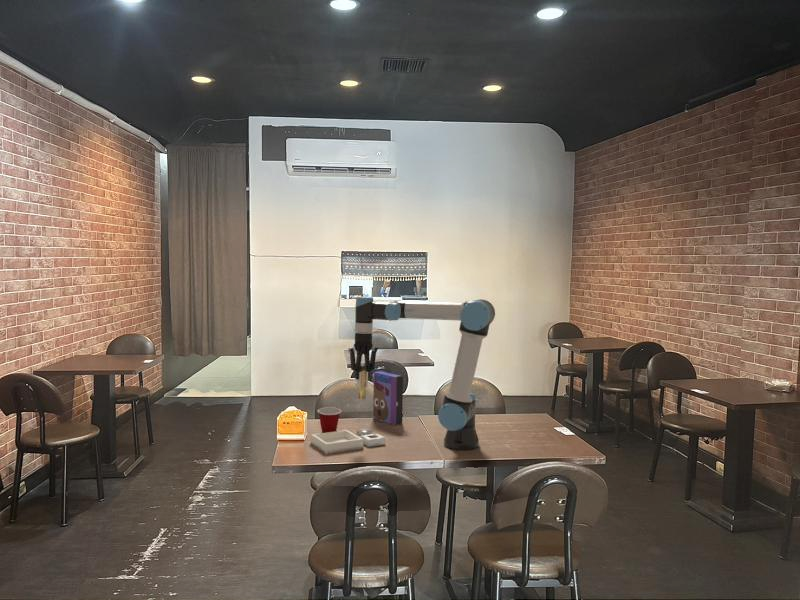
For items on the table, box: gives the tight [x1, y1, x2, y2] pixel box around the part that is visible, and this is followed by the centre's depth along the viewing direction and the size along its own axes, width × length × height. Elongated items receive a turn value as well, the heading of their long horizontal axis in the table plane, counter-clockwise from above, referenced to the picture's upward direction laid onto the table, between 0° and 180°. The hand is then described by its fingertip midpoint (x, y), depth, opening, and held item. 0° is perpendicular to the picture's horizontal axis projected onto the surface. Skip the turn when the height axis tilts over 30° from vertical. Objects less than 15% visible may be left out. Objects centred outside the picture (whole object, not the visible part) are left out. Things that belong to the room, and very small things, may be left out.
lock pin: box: [358, 364, 367, 400], centre depth 266 cm, size 4×4×14 cm
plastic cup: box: [317, 406, 342, 433], centre depth 280 cm, size 11×11×12 cm
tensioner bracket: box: [355, 428, 386, 448], centre depth 272 cm, size 16×8×4 cm, turn 30°
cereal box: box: [372, 371, 404, 426], centre depth 308 cm, size 17×5×24 cm, turn 40°
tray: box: [310, 429, 364, 455], centre depth 264 cm, size 17×17×4 cm
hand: (362, 386), depth 266 cm, fingers closed on lock pin, 2 cm apart
